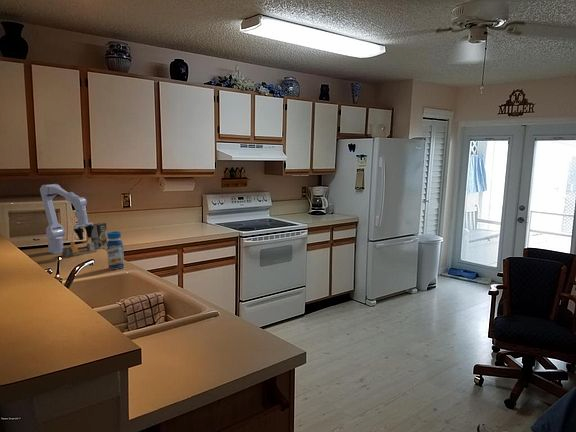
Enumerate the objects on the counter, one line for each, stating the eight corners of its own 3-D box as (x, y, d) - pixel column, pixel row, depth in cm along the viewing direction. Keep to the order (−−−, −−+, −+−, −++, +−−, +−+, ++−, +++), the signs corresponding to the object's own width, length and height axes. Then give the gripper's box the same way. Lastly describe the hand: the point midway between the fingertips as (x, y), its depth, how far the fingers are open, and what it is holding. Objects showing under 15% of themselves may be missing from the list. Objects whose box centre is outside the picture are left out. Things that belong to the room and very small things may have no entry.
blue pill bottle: (128, 266, 241) (125, 231, 239) (118, 270, 233) (115, 234, 230) (114, 265, 244) (112, 230, 241) (105, 269, 236) (102, 233, 233)
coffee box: (100, 249, 288) (98, 225, 286) (91, 248, 289) (89, 225, 287) (108, 246, 297) (106, 222, 295) (100, 245, 298) (98, 222, 296)
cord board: (61, 255, 271) (60, 246, 270) (89, 250, 285) (89, 241, 284) (68, 257, 266) (67, 248, 265) (96, 251, 279) (96, 243, 279)
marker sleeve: (68, 252, 272) (67, 241, 271) (75, 251, 275) (74, 240, 274) (71, 253, 269) (70, 242, 268) (78, 252, 273) (77, 241, 271)
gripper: (79, 218, 260) (82, 240, 261) (95, 215, 274) (98, 236, 275) (69, 219, 262) (73, 241, 263) (86, 215, 276) (89, 236, 277)
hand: (85, 238), depth 269 cm, fingers open, 7 cm apart
